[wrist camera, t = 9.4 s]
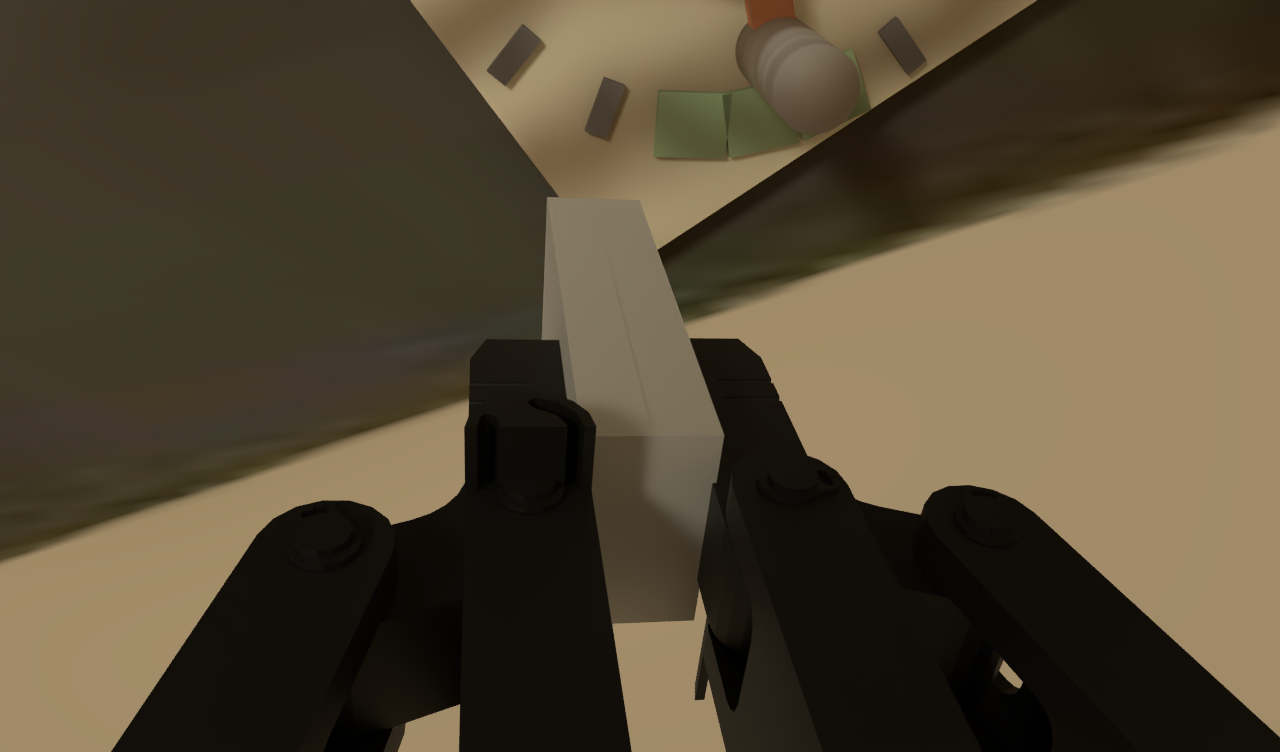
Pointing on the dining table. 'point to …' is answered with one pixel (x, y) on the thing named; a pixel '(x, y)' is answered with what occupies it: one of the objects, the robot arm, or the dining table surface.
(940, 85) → the dining table surface
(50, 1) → the dining table surface
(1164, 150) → the dining table surface
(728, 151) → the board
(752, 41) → the dial
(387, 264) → the dining table surface
